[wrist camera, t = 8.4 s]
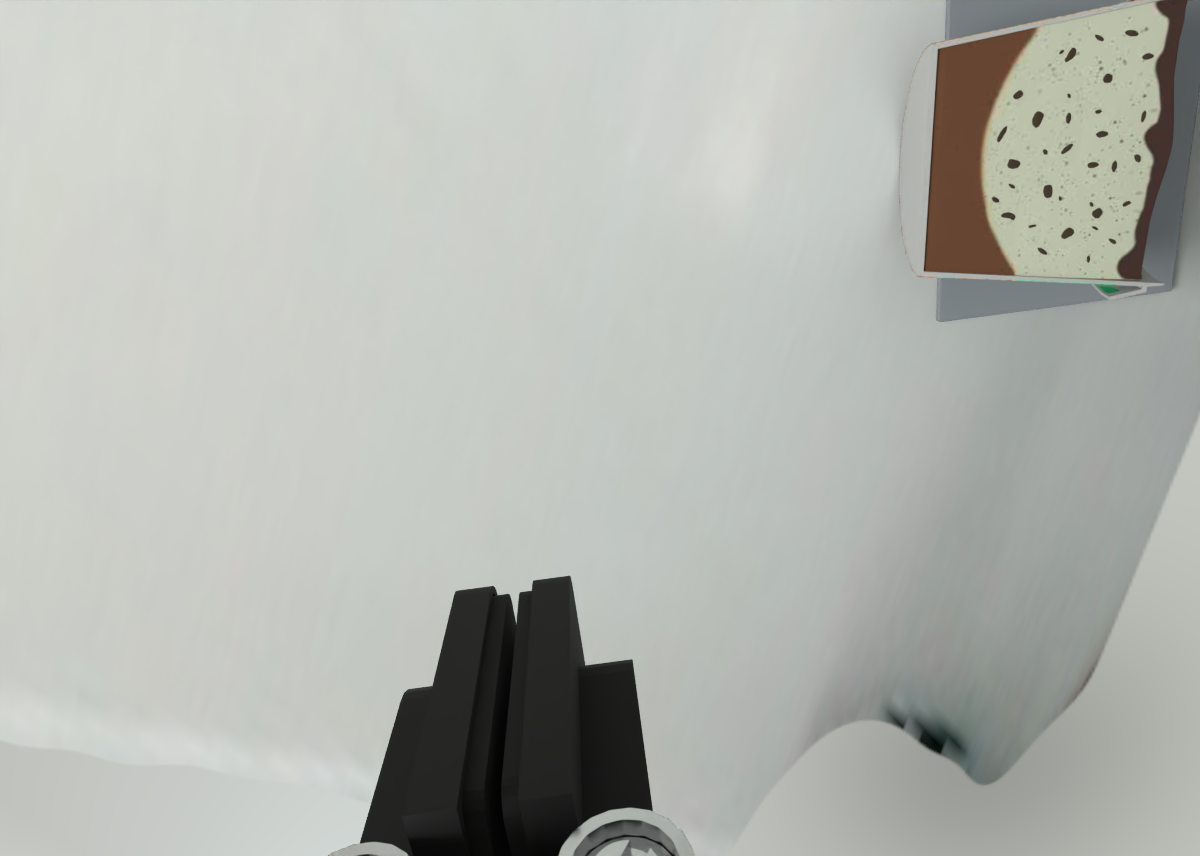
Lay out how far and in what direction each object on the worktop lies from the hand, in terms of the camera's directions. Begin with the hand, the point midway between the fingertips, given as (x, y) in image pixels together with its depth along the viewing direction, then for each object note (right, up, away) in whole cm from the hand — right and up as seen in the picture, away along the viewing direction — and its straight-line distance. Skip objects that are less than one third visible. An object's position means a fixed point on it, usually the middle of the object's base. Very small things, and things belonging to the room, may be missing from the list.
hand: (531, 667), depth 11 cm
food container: (+15, +16, +24) cm, 32 cm away
